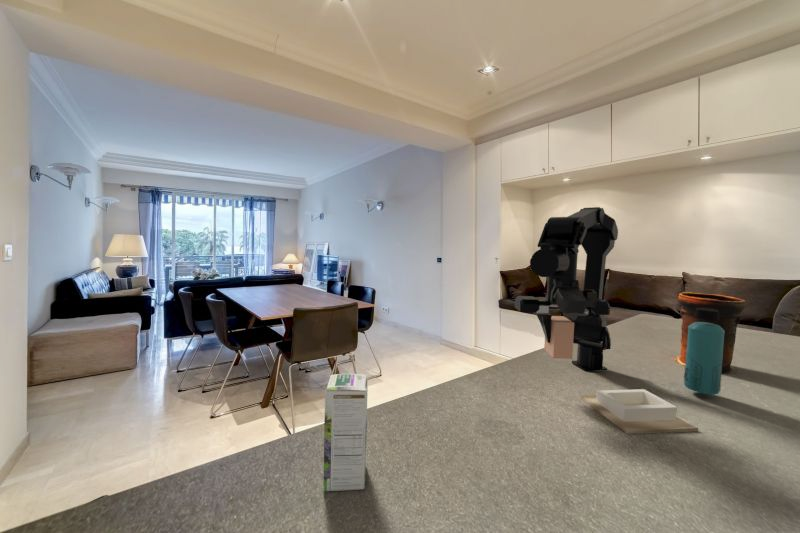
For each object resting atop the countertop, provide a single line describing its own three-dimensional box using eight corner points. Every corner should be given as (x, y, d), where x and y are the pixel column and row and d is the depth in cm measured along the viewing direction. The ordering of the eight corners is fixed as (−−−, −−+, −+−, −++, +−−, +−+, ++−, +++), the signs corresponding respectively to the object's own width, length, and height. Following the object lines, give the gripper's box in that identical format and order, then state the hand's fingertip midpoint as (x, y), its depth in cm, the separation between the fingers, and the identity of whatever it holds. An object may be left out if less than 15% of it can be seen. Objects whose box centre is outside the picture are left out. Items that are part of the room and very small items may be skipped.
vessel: (674, 352, 110) (682, 289, 108) (737, 365, 100) (747, 297, 98) (666, 363, 100) (674, 294, 98) (735, 379, 90) (746, 303, 87)
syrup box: (328, 465, 53) (328, 373, 52) (367, 463, 54) (367, 372, 52) (323, 492, 47) (322, 390, 46) (366, 490, 48) (367, 389, 47)
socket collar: (596, 401, 74) (597, 390, 74) (643, 400, 75) (644, 389, 75) (623, 421, 66) (624, 408, 66) (675, 419, 67) (677, 407, 67)
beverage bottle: (727, 403, 76) (736, 312, 74) (692, 399, 77) (700, 311, 75) (707, 390, 82) (715, 306, 80) (675, 387, 83) (682, 305, 82)
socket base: (580, 398, 77) (580, 395, 77) (639, 396, 78) (639, 393, 78) (627, 433, 63) (627, 430, 63) (697, 431, 64) (698, 427, 64)
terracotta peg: (544, 349, 82) (545, 315, 81) (561, 349, 81) (563, 316, 80) (553, 358, 76) (555, 322, 75) (572, 358, 75) (574, 322, 74)
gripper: (528, 277, 70) (525, 353, 71) (626, 279, 68) (621, 356, 69) (515, 271, 81) (512, 337, 82) (599, 273, 79) (595, 340, 80)
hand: (558, 342), depth 78 cm, fingers closed on terracotta peg, 4 cm apart
